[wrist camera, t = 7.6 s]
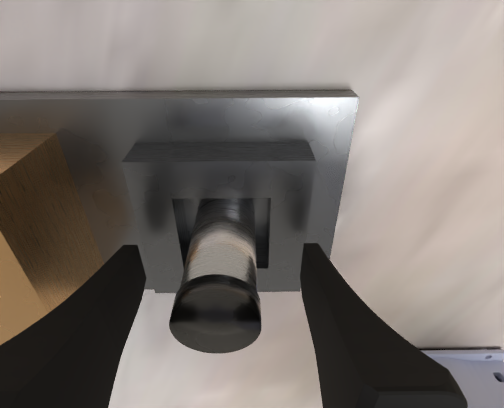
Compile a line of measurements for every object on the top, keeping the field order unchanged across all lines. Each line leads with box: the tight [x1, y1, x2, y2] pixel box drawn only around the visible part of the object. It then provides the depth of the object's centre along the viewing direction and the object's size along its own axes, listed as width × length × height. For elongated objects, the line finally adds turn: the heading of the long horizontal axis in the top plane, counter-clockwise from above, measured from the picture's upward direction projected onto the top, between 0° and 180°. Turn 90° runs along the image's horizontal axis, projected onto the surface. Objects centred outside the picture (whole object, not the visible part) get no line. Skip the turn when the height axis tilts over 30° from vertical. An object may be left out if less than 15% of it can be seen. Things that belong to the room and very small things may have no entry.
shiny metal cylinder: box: [169, 198, 261, 353], centre depth 14 cm, size 3×3×7 cm
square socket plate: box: [0, 90, 359, 345], centre depth 15 cm, size 20×12×6 cm, turn 90°
